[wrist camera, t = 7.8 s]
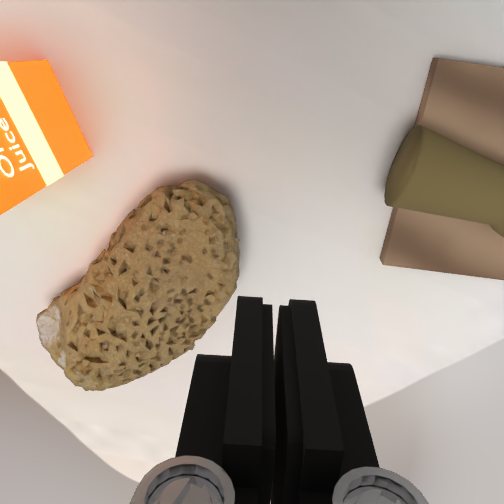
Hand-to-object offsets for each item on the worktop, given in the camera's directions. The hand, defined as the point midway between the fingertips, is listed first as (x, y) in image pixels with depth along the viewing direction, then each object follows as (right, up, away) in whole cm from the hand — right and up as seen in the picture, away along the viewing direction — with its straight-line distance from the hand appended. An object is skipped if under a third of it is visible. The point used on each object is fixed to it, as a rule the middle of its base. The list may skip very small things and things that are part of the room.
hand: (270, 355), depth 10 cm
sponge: (-9, 0, +31) cm, 32 cm away
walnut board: (+18, +8, +26) cm, 33 cm away
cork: (+10, +9, +23) cm, 27 cm away
